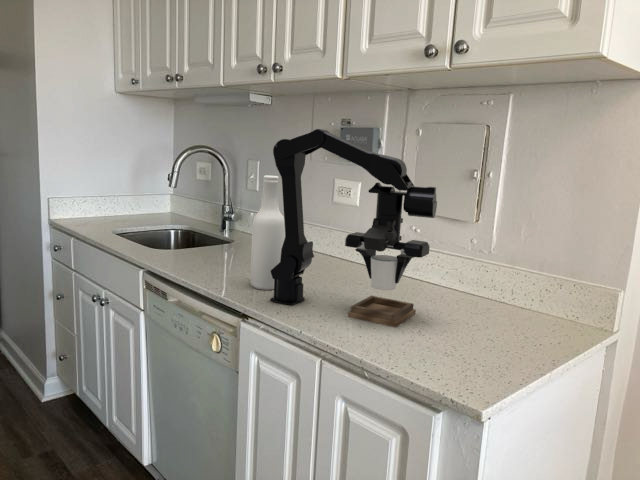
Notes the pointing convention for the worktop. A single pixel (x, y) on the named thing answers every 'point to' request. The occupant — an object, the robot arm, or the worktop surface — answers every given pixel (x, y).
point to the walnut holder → (382, 311)
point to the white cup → (383, 272)
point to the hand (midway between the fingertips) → (383, 280)
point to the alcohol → (267, 236)
